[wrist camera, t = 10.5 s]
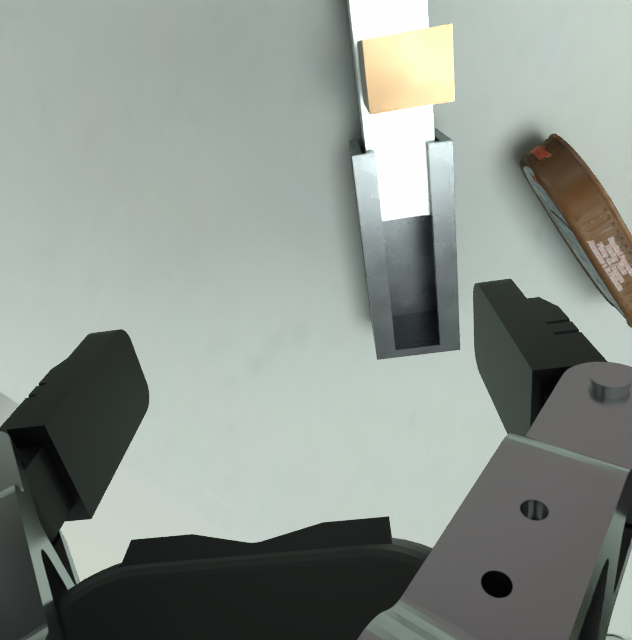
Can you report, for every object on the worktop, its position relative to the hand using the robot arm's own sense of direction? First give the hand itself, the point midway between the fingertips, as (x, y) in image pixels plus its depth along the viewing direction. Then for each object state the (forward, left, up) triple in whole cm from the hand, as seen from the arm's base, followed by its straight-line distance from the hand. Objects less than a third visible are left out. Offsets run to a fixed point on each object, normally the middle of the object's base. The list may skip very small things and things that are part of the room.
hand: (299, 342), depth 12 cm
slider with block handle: (+5, +4, -27) cm, 28 cm away
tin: (+18, -8, -28) cm, 34 cm away
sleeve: (+5, -7, -28) cm, 29 cm away
